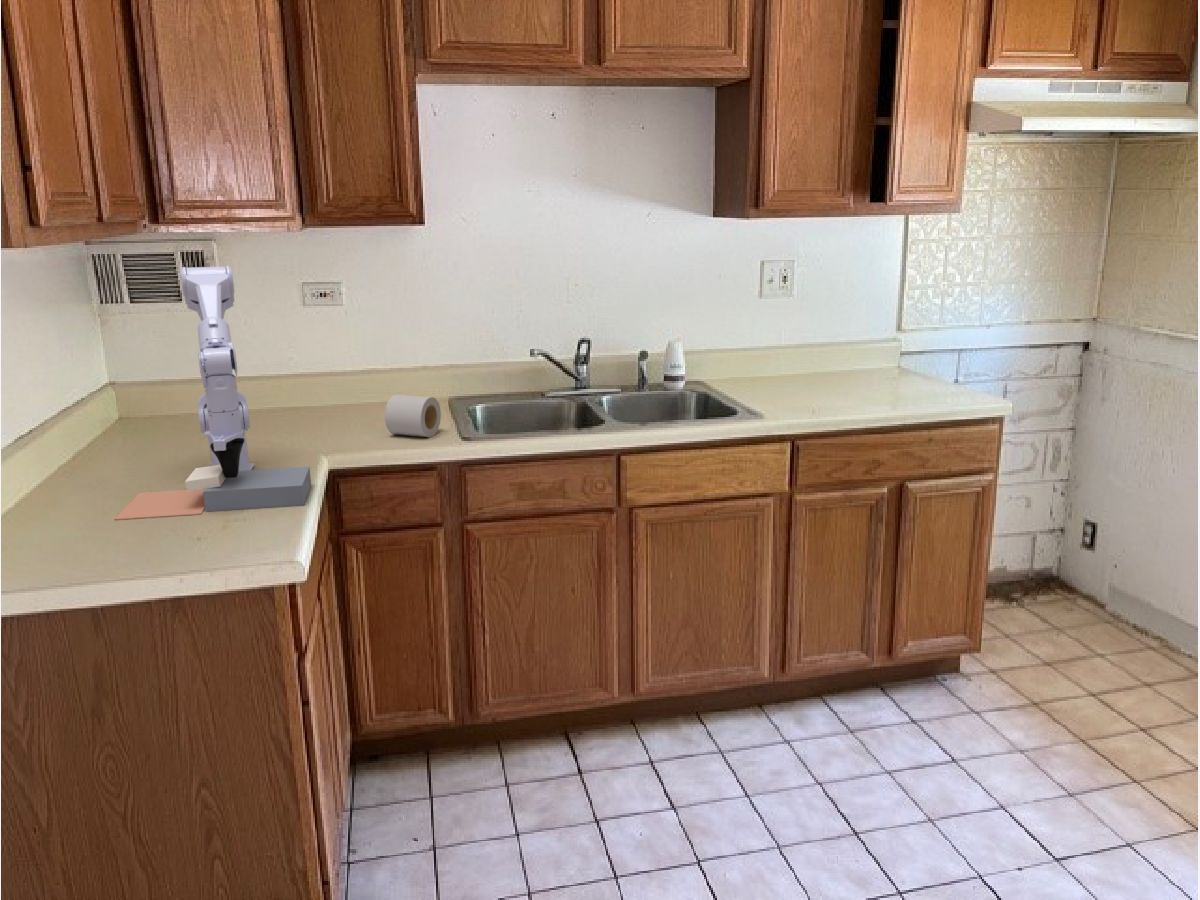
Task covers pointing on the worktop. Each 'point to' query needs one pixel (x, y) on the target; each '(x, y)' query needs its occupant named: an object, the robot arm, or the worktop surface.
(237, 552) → the worktop surface
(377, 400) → the worktop surface
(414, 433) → the toilet paper
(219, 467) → the white rectangular block
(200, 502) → the terracotta mat
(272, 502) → the plate
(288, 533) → the worktop surface
